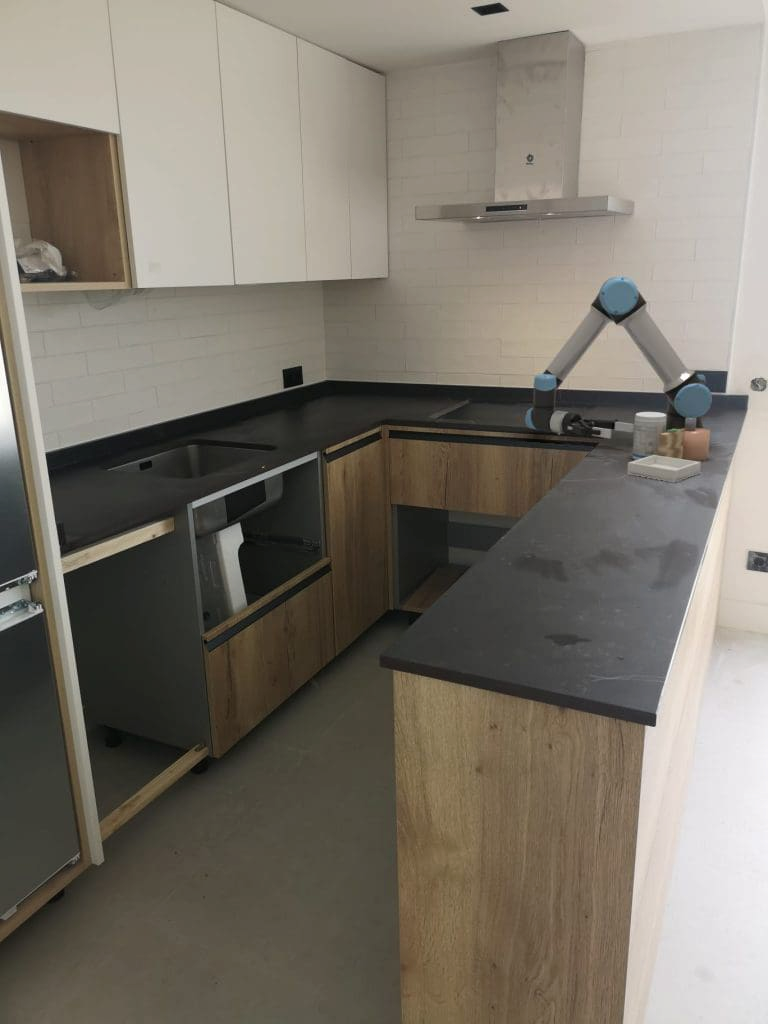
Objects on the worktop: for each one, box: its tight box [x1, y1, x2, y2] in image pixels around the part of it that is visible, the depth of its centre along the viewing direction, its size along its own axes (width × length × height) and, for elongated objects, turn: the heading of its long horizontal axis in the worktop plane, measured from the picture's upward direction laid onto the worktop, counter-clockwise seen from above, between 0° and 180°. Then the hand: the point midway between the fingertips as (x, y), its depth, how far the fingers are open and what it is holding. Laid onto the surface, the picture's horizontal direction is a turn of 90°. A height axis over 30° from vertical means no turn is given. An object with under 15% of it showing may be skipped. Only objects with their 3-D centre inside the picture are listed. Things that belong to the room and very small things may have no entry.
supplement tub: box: [632, 411, 667, 461], centre depth 254 cm, size 10×10×15 cm
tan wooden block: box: [658, 429, 685, 459], centre depth 249 cm, size 12×2×11 cm, turn 133°
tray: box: [626, 455, 702, 484], centre depth 237 cm, size 15×15×4 cm
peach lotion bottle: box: [682, 417, 711, 462], centre depth 256 cm, size 9×9×13 cm
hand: (622, 431), depth 261 cm, fingers open, 13 cm apart
